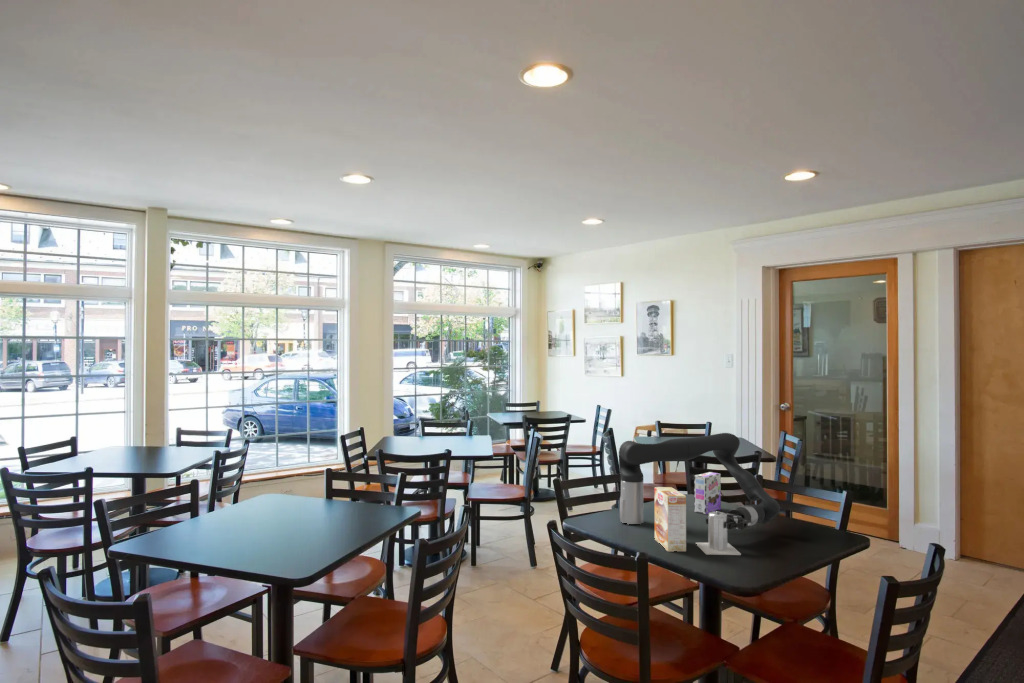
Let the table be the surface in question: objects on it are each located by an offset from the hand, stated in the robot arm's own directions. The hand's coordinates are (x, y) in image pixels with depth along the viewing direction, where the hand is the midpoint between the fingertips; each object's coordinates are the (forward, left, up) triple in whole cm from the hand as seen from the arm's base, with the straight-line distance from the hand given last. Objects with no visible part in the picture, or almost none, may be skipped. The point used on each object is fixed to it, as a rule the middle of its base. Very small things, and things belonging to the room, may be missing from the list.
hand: (717, 523), depth 209 cm
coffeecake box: (-16, +4, -9) cm, 19 cm away
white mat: (0, 0, -9) cm, 9 cm away
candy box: (+14, +55, -9) cm, 58 cm away
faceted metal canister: (0, 0, -8) cm, 9 cm away
